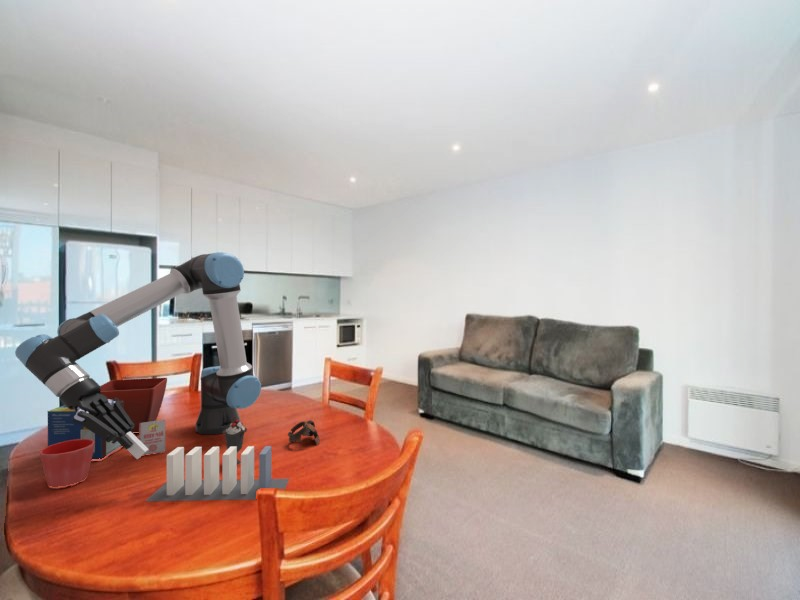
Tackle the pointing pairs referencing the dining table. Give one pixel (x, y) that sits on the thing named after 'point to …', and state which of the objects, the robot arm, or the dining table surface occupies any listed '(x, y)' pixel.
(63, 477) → the flower pot
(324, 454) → the dining table surface
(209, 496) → the runner mat
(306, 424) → the brown ring with handle
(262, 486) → the domino
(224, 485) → the domino
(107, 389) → the plant pot
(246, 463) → the domino
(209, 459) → the domino
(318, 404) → the dining table surface
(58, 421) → the protein box
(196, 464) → the domino
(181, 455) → the domino
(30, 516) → the dining table surface
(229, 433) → the sundae
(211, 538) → the dining table surface
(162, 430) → the tea bag
